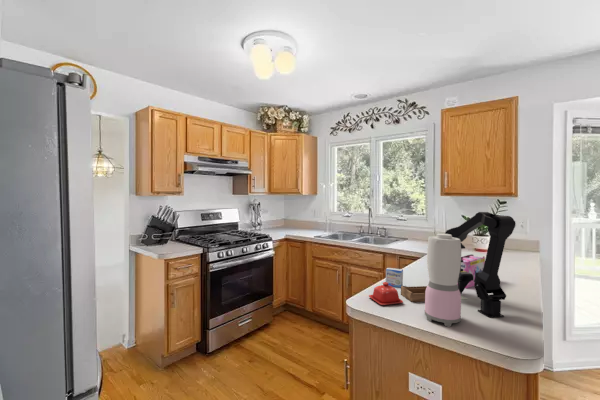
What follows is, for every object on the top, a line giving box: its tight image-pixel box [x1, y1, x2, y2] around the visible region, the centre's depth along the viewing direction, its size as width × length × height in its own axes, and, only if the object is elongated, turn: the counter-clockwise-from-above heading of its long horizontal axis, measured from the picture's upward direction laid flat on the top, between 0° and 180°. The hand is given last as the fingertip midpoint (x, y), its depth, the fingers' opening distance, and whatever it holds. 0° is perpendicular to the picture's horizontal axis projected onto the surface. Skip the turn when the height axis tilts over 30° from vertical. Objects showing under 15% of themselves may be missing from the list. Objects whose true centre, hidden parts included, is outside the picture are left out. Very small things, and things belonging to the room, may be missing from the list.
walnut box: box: [400, 285, 428, 303], centre depth 132 cm, size 10×14×4 cm
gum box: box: [457, 254, 486, 289], centre depth 156 cm, size 24×8×14 cm, turn 127°
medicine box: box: [385, 267, 404, 289], centre depth 150 cm, size 8×4×9 cm, turn 62°
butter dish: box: [368, 281, 404, 306], centre depth 128 cm, size 12×12×8 cm
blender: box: [424, 233, 462, 328], centre depth 110 cm, size 16×12×32 cm
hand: (453, 290), depth 134 cm, fingers open, 9 cm apart
